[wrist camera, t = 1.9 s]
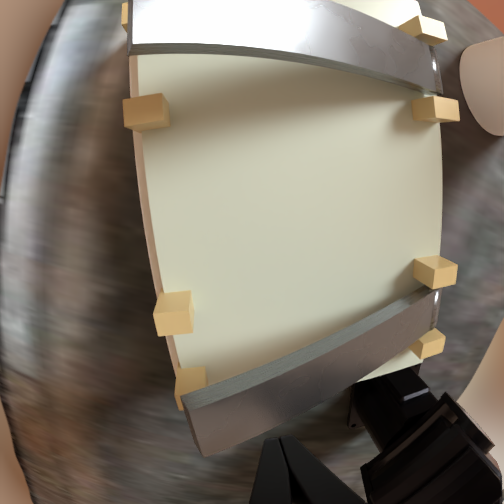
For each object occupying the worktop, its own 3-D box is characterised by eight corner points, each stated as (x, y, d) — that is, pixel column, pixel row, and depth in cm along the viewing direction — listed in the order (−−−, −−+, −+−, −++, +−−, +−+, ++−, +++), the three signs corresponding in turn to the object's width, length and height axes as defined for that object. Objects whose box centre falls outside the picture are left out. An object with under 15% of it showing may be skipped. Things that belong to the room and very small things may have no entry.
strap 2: (429, 280, 15) (444, 285, 14) (423, 320, 16) (437, 326, 15) (178, 394, 9) (190, 413, 8) (193, 441, 10) (204, 459, 9)
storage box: (387, 327, 23) (443, 383, 15) (188, 361, 21) (184, 443, 14) (377, 27, 16) (444, -14, 9) (147, 26, 15) (118, -38, 7)
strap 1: (421, 51, 12) (437, 49, 11) (428, 95, 12) (445, 94, 12) (128, -15, 6) (135, -35, 5) (126, 57, 6) (133, 42, 5)
